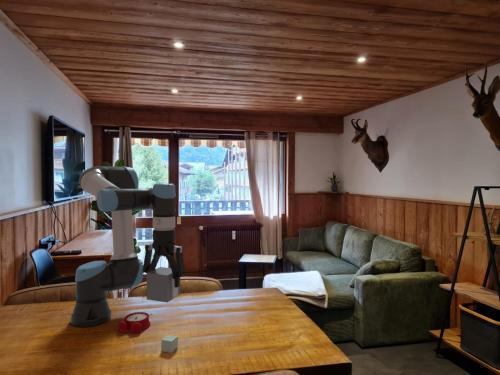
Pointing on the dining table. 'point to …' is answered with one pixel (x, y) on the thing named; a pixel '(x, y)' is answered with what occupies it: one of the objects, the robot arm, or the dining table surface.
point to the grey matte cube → (160, 285)
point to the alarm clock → (134, 322)
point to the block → (169, 343)
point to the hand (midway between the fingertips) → (163, 294)
